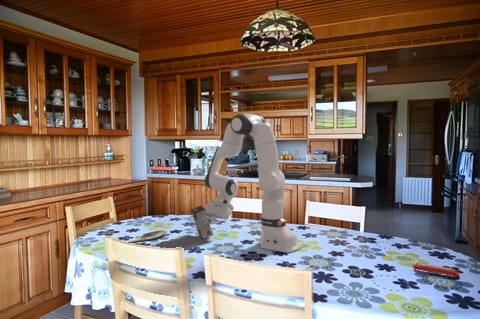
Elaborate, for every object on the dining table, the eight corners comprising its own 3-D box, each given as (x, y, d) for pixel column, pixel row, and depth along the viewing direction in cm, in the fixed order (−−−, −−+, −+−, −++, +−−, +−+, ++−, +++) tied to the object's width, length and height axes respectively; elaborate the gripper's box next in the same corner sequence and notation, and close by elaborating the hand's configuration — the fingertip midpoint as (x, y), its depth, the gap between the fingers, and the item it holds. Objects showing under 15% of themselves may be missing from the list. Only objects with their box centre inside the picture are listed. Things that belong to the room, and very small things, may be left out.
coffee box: (198, 235, 184) (190, 209, 182) (208, 230, 186) (200, 205, 184) (203, 239, 176) (194, 212, 173) (213, 234, 178) (205, 208, 175)
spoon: (113, 255, 158) (113, 251, 157) (103, 250, 164) (102, 246, 164) (171, 234, 184) (170, 231, 184) (160, 231, 191) (159, 228, 191)
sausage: (412, 271, 132) (412, 264, 132) (413, 268, 135) (413, 261, 135) (459, 279, 123) (460, 272, 123) (459, 276, 127) (459, 269, 126)
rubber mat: (210, 242, 171) (210, 241, 171) (176, 252, 155) (176, 252, 155) (188, 235, 183) (188, 234, 183) (155, 245, 167) (155, 244, 167)
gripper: (206, 198, 195) (194, 216, 188) (230, 202, 181) (218, 222, 174) (212, 204, 198) (200, 222, 192) (236, 208, 184) (224, 228, 178)
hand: (209, 222), depth 183 cm, fingers closed
